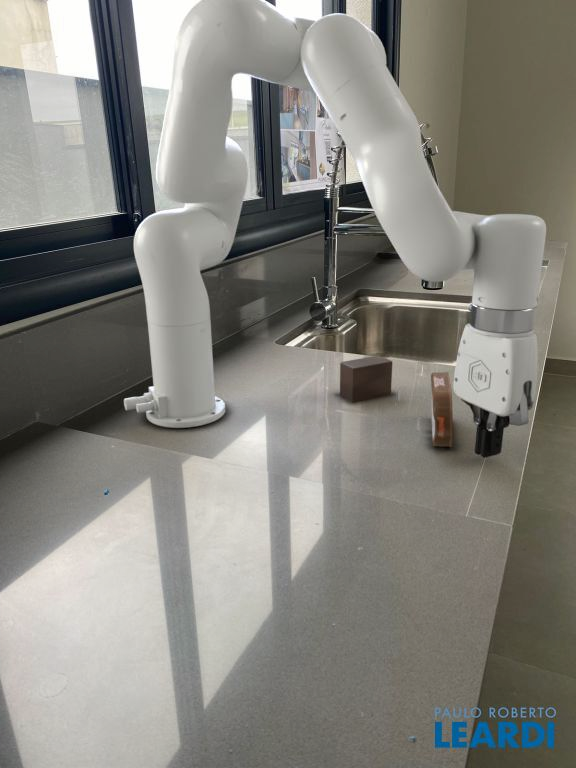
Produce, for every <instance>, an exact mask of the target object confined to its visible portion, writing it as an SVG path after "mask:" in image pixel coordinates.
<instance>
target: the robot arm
mask: <svg viewBox="0 0 576 768" xmlns="http://www.w3.org/2000/svg"><path fill="white" fill-rule="evenodd" d="M172 55H173V56H172V65H171V74H170V85H169V90H168V97H167V102H166V106H165V111H164V117H163V123H162V129H161V134H160V139H159V146H158V151H157V156H156V157H157V158H156V165H155V180H156V184H157V186H158V188H159V190H160V192H161V193H162V194H163V196H165V197H166V198H167V199H168V200H170V201H173V202H174V203H175V202H176V203H178V204H179V203H180V204H184V207H183V208H174V209H167V210H160V211H157V212H154V213H152V214H150V215H148V216H147V217H145V218H144V219H143V220H142V222H140V223H139V225H138V227H137V228H136V231H135V233H134V237H133V253H134V259H135V262H136V265H137V269H138V272H139V276H140V280H141V284H142V289H143V294H144V302H145V303H144V304H145V311H146V312H145V313H146V321H147V331H148V342H149V351H150V353H149V354H150V362H151V374H152V386H148V392H144V393H143V395H141V396H131V397H126V398H124V399H123V406H124V409H125V411H132V410H136V413H137V414H141V413H145V415H146V416H145V417H146V419H147V420H148V421H149V423H152V424H153V425H156V426H159V427H163V428H169V429H170V428H171V429H186V428H187V429H189V428H196V427H200V426H205V425H208V424H211V423H213V422H216V421H218V420H219V419H220V418H222V417H223V416H224V415H225V413H226V403H225V401H224V400H223V399H221V398H220V397H218V396H216V393H215V391H216V389H215V373H214V357H213V339H212V322H211V309H210V308H211V306H210V299H209V295H208V291H207V288H206V285H205V282H204V280H203V277H202V274H201V271H204V270H206V269H210V268H213V267H215V266H217V265H219V264H221V263H222V262H223V261H224V260H225V259H226V258H227V257H228V255H229V253H230V252H231V249H232V247H233V245H234V241H235V237H236V233H237V229H238V225H239V220H240V216H241V212H242V208H243V203H244V199H245V196H246V191H247V186H248V179H249V173H248V163H247V159H246V156H245V153H244V151H243V150H242V148H241V147H240V145H239V144H238V143H237V142H236V141H235V140H233V139H232V138H230V137H229V136H227V135H228V130H229V126H230V122H231V118H232V112H233V102H234V98H233V97H234V96H233V78H234V77H235V75H239V74H242V75H246V76H249V77H251V78H254V79H258V80H261V81H264V82H268V83H272V84H276V85H281V86H285V87H289V88H295V89H297V90H303V91H307V92H310V93H314V94H316V97H317V98H318V99H319V101H320V103H321V105H322V106H323V108H324V111H326V113H327V115H328V116H329V119H330V120H331V122H332V123H333V125H334V127H335V129H336V130H337V133H338V134H339V136H340V138H341V139H342V141H343V143H344V144H345V146H346V148H347V150H348V151H349V153H350V155H351V156H352V158H353V160H354V162H355V164H356V167H357V170H358V174H359V177H360V180H361V182H362V185H363V187H364V190H365V193H366V195H367V199H368V200H369V203H370V205H371V207H372V210H373V212H374V214H375V216H376V218H377V221H378V222H379V224H380V226H381V228H382V230H383V231H384V233H385V235H386V236H387V237H388V239H389V241H390V243H391V244H392V246H393V248H394V249H395V252H396V253H397V254H398V257H399V259H400V260H401V261H402V263H403V264H404V265H405V267H406V268H407V269H408V270H409V271H410V272H411V273H412V274H413V275H414V276H416V277H417V278H419V279H420V280H423V281H425V282H430V283H440V282H445V281H446V282H447V281H448V280H450V279H452V278H454V277H456V276H457V275H459V274H460V273H461V272H462V271H464V270H473V271H474V272H473V274H474V275H473V284H472V296H471V302H470V303H469V305H468V311H469V312H470V316H469V317H470V318H469V323H466V324H465V326H464V328H463V331H462V333H461V334H462V335H461V338H460V341H459V345H458V350H457V354H456V355H457V356H456V359H455V360H456V362H455V366H454V367H455V368H454V375H453V383H452V384H453V387H452V389H453V393H454V394H455V395H456V397H457V398H459V399H460V400H461V401H462V402H463V403H464V404H466V405H467V406H469V408H470V410H471V412H472V419H473V423H474V424H475V425H476V431H475V433H476V434H475V441H474V442H475V443H474V453H475V454H476V455H480V457H482V458H484V459H486V458H489V457H493V456H497V455H499V454H501V453H502V446H503V439H504V429H506V428H508V427H509V426H518V427H520V426H524V425H528V424H529V411H531V410H532V409H533V407H534V404H535V400H536V395H537V386H538V374H539V373H538V371H539V349H538V338H537V337H538V336H537V334H536V333H534V332H535V325H536V315H537V308H538V299H539V292H540V284H541V275H542V270H543V269H542V266H543V260H544V253H545V246H546V236H547V225H546V222H545V220H544V219H543V218H542V217H540V216H538V215H534V214H524V213H498V214H491V215H486V214H477V213H469V212H463V211H457V210H452V209H451V206H450V205H449V203H448V201H447V200H446V198H445V196H444V195H443V193H442V191H441V190H440V188H439V186H438V184H437V182H436V180H435V178H434V176H433V174H432V172H431V170H430V167H429V165H428V162H427V160H426V157H425V154H424V149H423V144H422V132H421V131H422V130H421V128H420V124H419V121H418V119H417V116H416V115H415V114H414V112H413V109H412V108H411V106H410V104H409V103H408V101H407V99H406V98H405V95H404V94H403V92H402V91H401V90H400V88H399V86H398V84H397V83H396V81H395V79H394V77H393V75H392V73H391V72H390V70H389V68H388V66H387V54H386V50H385V47H384V45H383V42H382V41H381V39H380V38H379V36H378V35H377V34H376V32H374V30H372V29H370V28H369V27H367V26H366V25H365V24H363V23H362V22H361V21H360V20H359V19H357V18H356V17H354V16H352V15H350V14H346V13H341V12H339V13H335V12H334V13H330V14H327V15H324V16H321V17H319V18H318V19H317V20H313V19H309V18H305V17H299V16H296V15H295V16H294V15H291V14H289V13H287V12H285V11H283V10H281V9H279V8H278V7H277V6H275V5H273V4H272V3H270V2H268V1H267V0H200V1H198V2H197V3H196V4H195V5H194V6H193V7H192V8H191V9H190V10H189V11H188V12H187V14H186V15H185V17H184V18H183V20H182V22H181V24H180V26H179V29H178V31H177V35H176V38H175V43H174V48H173V54H172Z"/></svg>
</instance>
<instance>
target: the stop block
mask: <svg viewBox="0 0 576 768" xmlns="http://www.w3.org/2000/svg"><path fill="white" fill-rule="evenodd" d="M392 380H393V360H391V359H388V358H386V357H384V356H381V355H379V354H378V355H372V356H368V357H362V358H355V359H351V360H345V361H340V362H339V396H341V397H342V398H344V399H346V400H347V401H350V402H351V403H355V402H361V401H365V400H369V399H374V398H378V397H379V398H380V397H384V396H388V395H391V394H392V383H393V381H392Z"/></svg>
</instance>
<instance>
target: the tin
mask: <svg viewBox="0 0 576 768" xmlns="http://www.w3.org/2000/svg"><path fill="white" fill-rule="evenodd" d="M430 384H431V385H430V386H431V400H430V417H431V418H430V419H431V441H432V446H433V447H438V448H440V447H441V448H442V447H443V448H452V447H453V435H454V434H453V433H454V432H453V431H454V428H453V423H454V421H453V416H454V415H453V394H452V386H451V379H450V371H445V372H444V371H443V372H432V373H431V374H430Z"/></svg>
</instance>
